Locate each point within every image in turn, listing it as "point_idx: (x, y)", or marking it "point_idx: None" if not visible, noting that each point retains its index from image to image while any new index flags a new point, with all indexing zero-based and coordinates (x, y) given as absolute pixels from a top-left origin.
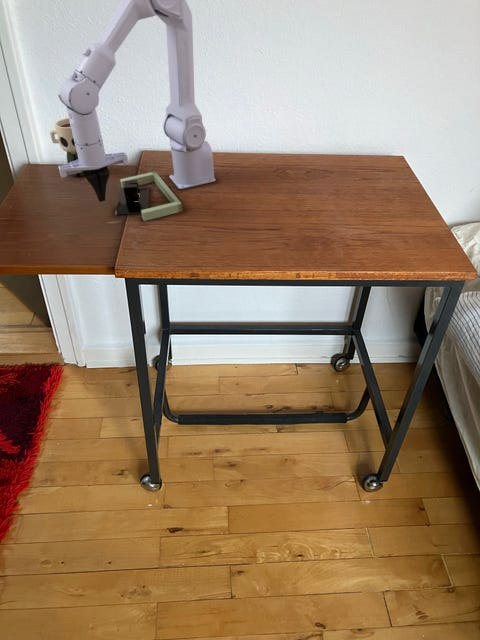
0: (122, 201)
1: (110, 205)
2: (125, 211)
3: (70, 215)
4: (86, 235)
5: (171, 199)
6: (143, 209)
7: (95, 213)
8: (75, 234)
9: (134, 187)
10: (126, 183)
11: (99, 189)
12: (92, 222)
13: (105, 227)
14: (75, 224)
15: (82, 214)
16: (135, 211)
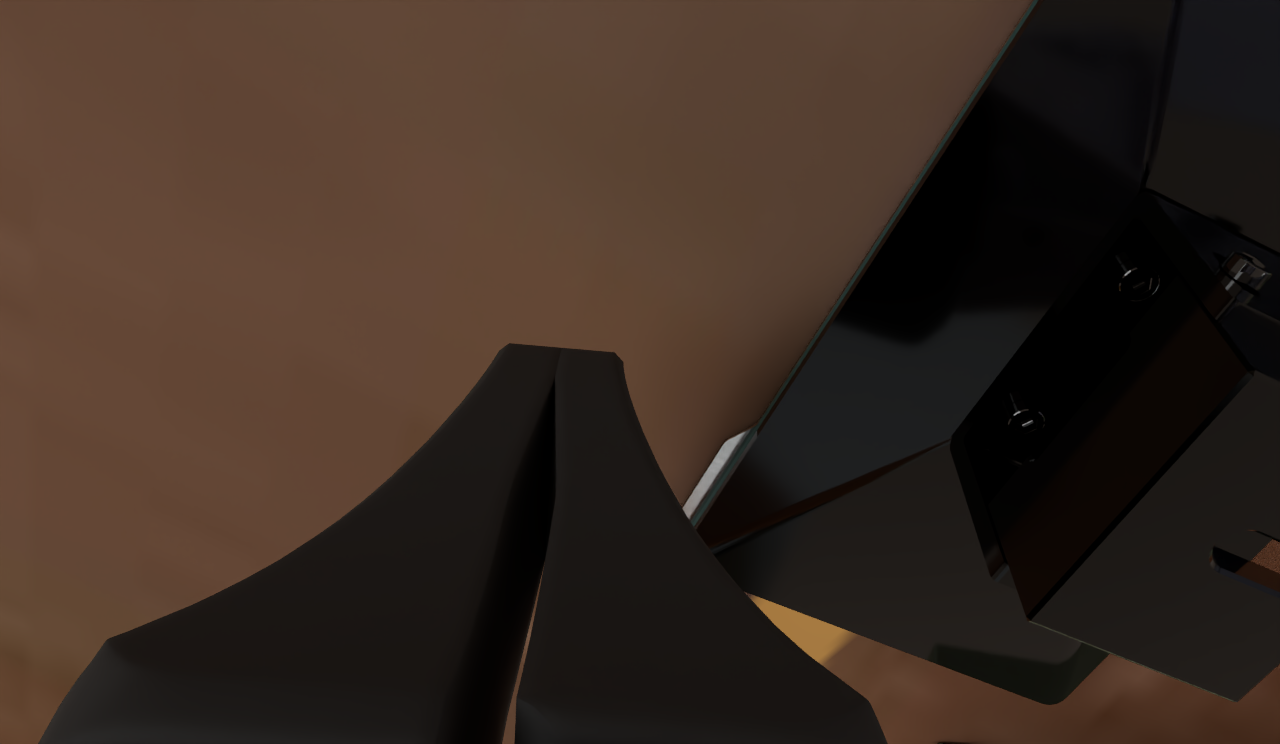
0: (933, 321)
1: (725, 223)
2: (824, 574)
3: (2, 174)
4: None
5: None
6: (1057, 652)
7: (417, 333)
8: (68, 659)
9: (1201, 688)
10: (1188, 499)
11: (502, 730)
12: (321, 530)
13: None
14: (78, 462)
15: (208, 252)
16: (941, 632)
